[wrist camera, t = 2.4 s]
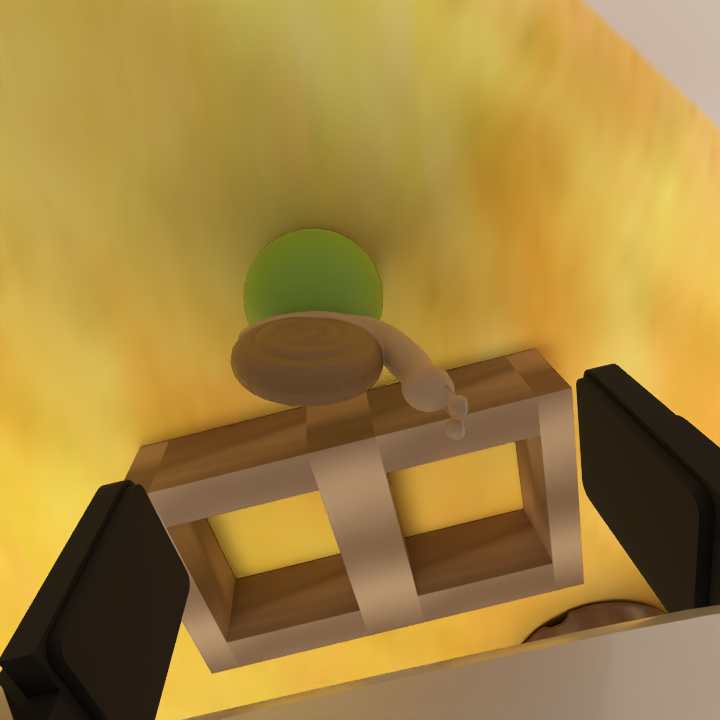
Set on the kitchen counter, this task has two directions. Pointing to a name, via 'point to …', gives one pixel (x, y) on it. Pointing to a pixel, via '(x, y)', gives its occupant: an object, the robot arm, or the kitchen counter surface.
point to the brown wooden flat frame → (370, 513)
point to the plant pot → (596, 618)
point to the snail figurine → (329, 331)
